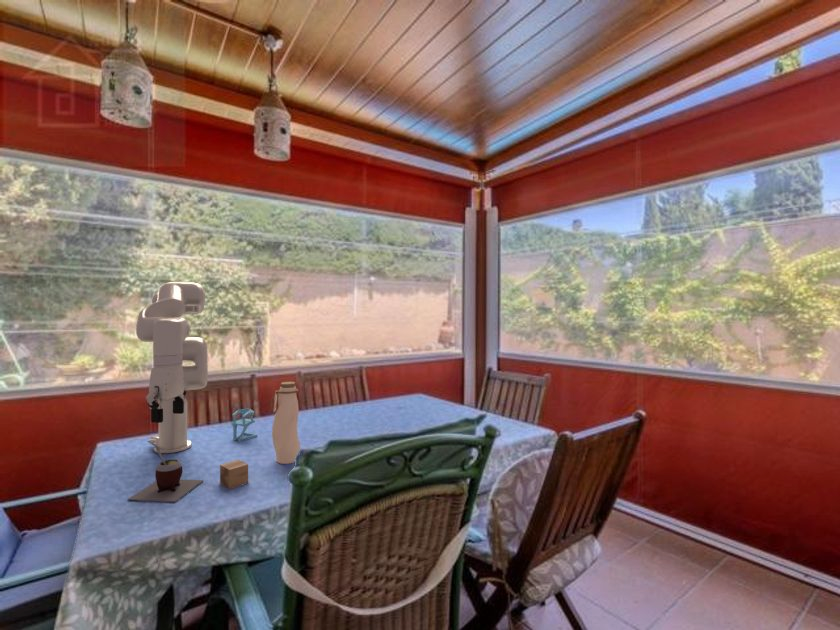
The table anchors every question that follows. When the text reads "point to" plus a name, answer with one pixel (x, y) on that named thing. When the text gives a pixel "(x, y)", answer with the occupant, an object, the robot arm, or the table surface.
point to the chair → (243, 424)
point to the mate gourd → (167, 473)
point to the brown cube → (233, 474)
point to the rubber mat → (166, 492)
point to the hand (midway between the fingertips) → (168, 417)
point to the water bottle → (286, 423)
